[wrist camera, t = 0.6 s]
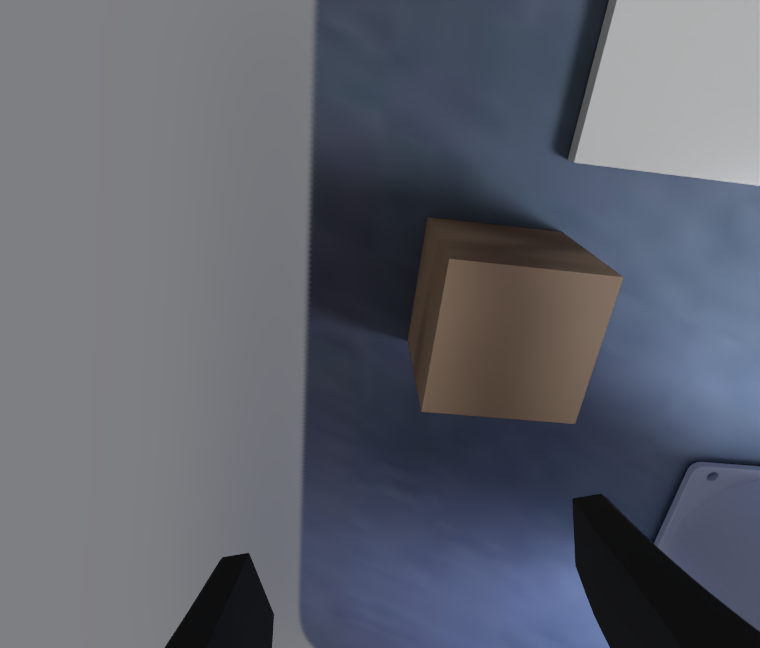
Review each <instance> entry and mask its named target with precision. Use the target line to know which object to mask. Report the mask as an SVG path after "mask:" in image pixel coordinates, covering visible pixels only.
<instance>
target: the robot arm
mask: <svg viewBox="0 0 760 648" xmlns="http://www.w3.org/2000/svg"><path fill="white" fill-rule="evenodd" d="M710 473H711V474H710ZM573 519H574V541H575V563H576V568H577V571H578V573H579V576H580V579H581V582H582V584H583V587H584V590H585V593H586V595H587V598H588V600H589V603H590V606H591V608H592V611H593V614H594V616H595V618H596V620H597V622H598V624H599V626H600V628H601V630H602V632H603V634H604V636H605V638H606V640H607V642H608V645H609V647H610V648H760V466H749V465H736V464H723V463H710V462H697V463H694V464H692V465H691V466H690V467H689V468H688V470H687V472H686V474H685V476H684V478H683V480H682V483H681V485H680V487H679V489H678V491H677V494H676V496H675V498H674V500H673V502H672V505H671V507H670V509H669V511H668V513H667V516H666V518H665V520H664V522H663V524H662V527H661V529H660V531H659V533H658V535H657V538H656V540H655V542H654V543H652V542H651V541H650V540H649V539H648V538H647V537H646V536H645V535H644V534H643V533H642V532H641V531H640V530H639V529H638V528H637V527H635V526H634V525H633V524H632V523H631V522H630V521H629V520H628V519H627V518H626V517H625V516H624V515H623V514H622V513H621V512H620V511H619V510H618V509H617V508H616V507H615V506H614V505H613V504H612V503H611V502H610V501H609V500H608V499H607V498H606V497H605V496H603V495H602V494H597V495H591V496H585V497H579V498H574V499H573ZM273 619H274V614H273V611H272V609H271V606H270V604H269V601H268V599H267V596H266V594H265V591H264V589H263V586H262V584H261V582H260V579H259V577H258V574H257V572H256V569H255V567H254V564H253V562H252V559H251V557H250V555H249V553H246V554H240V555H234V556H228V557H223V558H222V559H221V560H220V562H219V563H218V565H217V566H216V568H215V569H214V571H213V573H212V574H211V576H210V577H209V579H208V581H207V582H206V584H205V586H204V587H203V589H202V590H201V592H200V593H199V595H198V597H197V598H196V600H195V602H194V603H193V605H192V606H191V608H190V610H189V611H188V613H187V614H186V616H185V617H184V619H183V621H182V622H181V624H180V625H179V627H178V628H177V630H176V631H175V633H174V634H173V636H172V637H171V639H170V640H169V642H168V643H167V645H166V647H165V648H272V636H273Z"/></svg>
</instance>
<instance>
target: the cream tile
mask: <svg viewBox="0 0 760 648" xmlns="http://www.w3.org/2000/svg"><path fill="white" fill-rule="evenodd" d="M568 160H569V161H571V162H574V163H582V164H590V165H598V166H606V167H614V168H622V169H630V170H638V171H646V172H654V173H662V174H670V175H678V176H686V177H694V178H702V179H710V180H718V181H726V182H734V183H742V184H750V185H758V186H760V0H609V2H608V6H607V10H606V14H605V17H604V21H603V25H602V29H601V33H600V37H599V41H598V45H597V48H596V52H595V56H594V60H593V64H592V68H591V72H590V75H589V79H588V83H587V87H586V91H585V95H584V99H583V103H582V106H581V110H580V114H579V118H578V122H577V126H576V130H575V133H574V137H573V141H572V145H571V149H570V153H569V157H568Z"/></svg>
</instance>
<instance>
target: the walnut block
mask: <svg viewBox="0 0 760 648" xmlns="http://www.w3.org/2000/svg"><path fill="white" fill-rule="evenodd" d="M622 280H623V277H622V276H621V275H620V274H618V273H617V272H616V271H614V270H613V269H612V268H610V267H609V266H608V265H606V264H605V263H603V262H602V261H601V260H599V259H598V258H597V257H595V256H594V255H593V254H591V253H590V252H589V251H587V250H586V249H584V248H583V247H582V246H580V245H579V244H578V243H576V242H575V241H574V240H572V239H571V238H570V237H568V236H567V235H565V234H564V233H563V232H558V231H549V230H540V229H531V228H522V227H513V226H505V225H496V224H487V223H478V222H469V221H460V220H451V219H443V218H434V217H427V223H426V229H425V235H424V242H423V248H422V254H421V260H420V267H419V273H418V279H417V286H416V292H415V298H414V304H413V311H412V317H411V323H410V329H409V336H408V346H409V351H410V356H411V361H412V366H413V371H414V377H415V382H416V387H417V392H418V397H419V402H420V407H421V412H431V413H444V414H456V415H468V416H481V417H493V418H506V419H518V420H531V421H543V422H556V423H568V424H575V423H576V420H577V417H578V414H579V411H580V408H581V405H582V402H583V399H584V396H585V393H586V390H587V387H588V384H589V381H590V377H591V374H592V371H593V368H594V365H595V362H596V359H597V356H598V353H599V350H600V347H601V344H602V341H603V338H604V335H605V332H606V329H607V326H608V323H609V320H610V317H611V314H612V311H613V308H614V305H615V302H616V299H617V295H618V292H619V289H620V286H621V283H622Z"/></svg>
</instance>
